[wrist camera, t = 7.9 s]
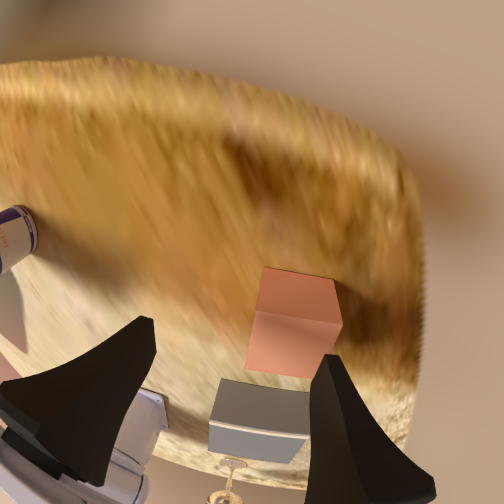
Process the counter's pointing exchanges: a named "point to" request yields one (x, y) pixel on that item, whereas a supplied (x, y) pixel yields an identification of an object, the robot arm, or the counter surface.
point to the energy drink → (16, 236)
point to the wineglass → (227, 486)
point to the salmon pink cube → (293, 324)
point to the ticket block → (258, 422)
